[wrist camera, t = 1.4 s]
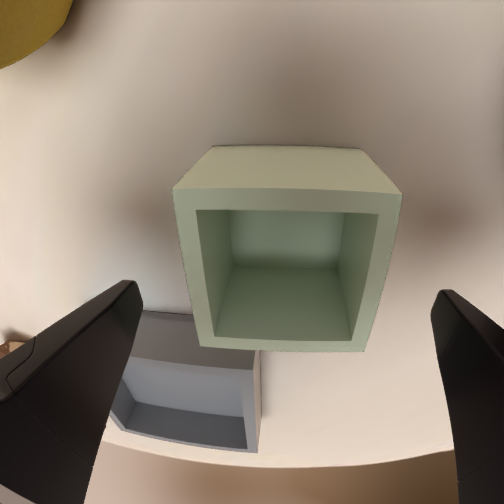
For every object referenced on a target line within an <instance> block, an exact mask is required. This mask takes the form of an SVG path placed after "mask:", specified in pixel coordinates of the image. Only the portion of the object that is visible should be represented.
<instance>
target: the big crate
mask: <svg viewBox="0 0 504 504" xmlns="http://www.w3.org/2000/svg"><path fill="white" fill-rule="evenodd" d="M109 416H110V417H111V418H112V420H113V421H114V422H115V423H116V425H117V426H118V427H119V428H120V430H122V431H126V432H129V433H133V434H137V435H141V436H146V437H150V438H154V439H159V440H164V441H169V442H174V443H179V444H185V445H191V446H197V447H204V448H211V449H219V450H227V451H237V452H248V453H258V443H259V434H260V425H261V372H260V350H243V349H228V348H215V347H204V346H200V343H199V339H198V334H197V330H196V325H195V320H194V316H193V315H183V314H172V313H161V312H150V311H142V314H141V317H140V321H139V325H138V328H137V332H136V336H135V340H134V344H133V347H132V351H131V353H130V356H129V359H128V362H127V365H126V367H125V370H124V373H123V376H122V378H121V381H120V384H119V387H118V390H117V393H116V395H115V398H114V401H113V404H112V407H111V410H110V413H109Z"/></svg>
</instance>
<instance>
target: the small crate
mask: <svg viewBox="0 0 504 504" xmlns="http://www.w3.org/2000/svg"><path fill="white" fill-rule="evenodd" d="M172 196H173V203H174V210H175V216H176V223H177V229H178V235H179V241H180V247H181V253H182V259H183V264H184V270H185V275H186V280H187V286H188V291H189V296H190V301H191V306H192V311H193V316H194V320H195V325H196V330H197V334H198V339H199V343H200V346H204V347H215V348H228V349H243V350H261V351H286V352H364V350H365V347H366V344H367V341H368V338H369V335H370V332H371V328H372V325H373V322H374V318H375V315H376V312H377V308H378V305H379V301H380V298H381V294H382V290H383V286H384V282H385V279H386V275H387V271H388V266H389V262H390V258H391V254H392V249H393V245H394V240H395V235H396V230H397V225H398V220H399V215H400V209H401V203H402V197H403V194H402V193H401V191H400V190H399V189H398V188H397V187H396V186H395V185H394V183H393V182H392V181H391V180H390V179H389V178H388V177H387V176H386V174H385V173H384V172H383V171H382V170H381V169H380V168H379V167H378V166H377V165H376V164H375V163H374V162H373V160H372V159H371V158H370V157H369V156H368V155H367V154H366V153H365V152H364V151H363V150H362V149H355V148H341V147H322V146H294V145H233V146H212V147H211V148H210V149H209V150H208V151H207V152H206V153H205V154H204V155H203V156H202V157H201V158H200V159H199V160H198V162H197V163H196V164H195V165H194V166H193V167H192V168H191V169H190V170H189V171H188V172H187V173H186V174H185V175H184V176H183V177H182V178H181V179H180V180H179V182H178V183H177V184H176V185H175V186H174V187H173V188H172Z"/></svg>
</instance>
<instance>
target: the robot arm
mask: <svg viewBox="0 0 504 504" xmlns="http://www.w3.org/2000/svg"><path fill="white" fill-rule="evenodd" d="M142 310H143V301H142V298H141V294H140V291H139V288H138V285H137V283H136V282H135V281H133V280H122V281H120V282H119V283H117V284H115V285H114V286H112V287H111V288H109V289H107V290H106V291H104V292H103V293H101V294H99V295H98V296H96V297H95V298H93V299H91V300H90V301H88V302H87V303H85V304H84V305H82V306H80V307H79V308H77V309H76V310H74V311H73V312H71V313H70V314H68V315H66V316H65V317H63V318H62V319H60V320H59V321H57V322H56V323H54V324H53V325H51V326H50V327H48V328H47V329H45V330H44V331H42V332H41V333H39V334H38V335H37V336H34V337H33V338H31V339H30V340H29V341H27V342H26V343H24V344H23V345H21V346H19V347H18V348H16V349H15V350H13V351H12V352H10V353H8V354H7V355H5V356H3V357H2V358H0V504H84V500H85V496H86V492H87V488H88V485H89V481H90V477H91V473H92V469H93V467H92V466H94V462H95V459H96V455H97V452H98V448H99V445H100V442H101V438H102V435H103V432H104V429H105V426H106V423H107V419H108V416H109V413H110V410H111V407H112V404H113V401H114V398H115V395H116V393H117V390H118V387H119V384H120V381H121V378H122V376H123V373H124V370H125V367H126V365H127V362H128V359H129V356H130V353H131V351H132V347H133V344H134V340H135V336H136V332H137V328H138V325H139V321H140V317H141V314H142ZM431 323H432V328H433V334H434V340H435V346H436V353H437V359H438V364H439V368H440V373H441V377H442V381H443V386H444V390H445V395H446V400H447V405H448V411H449V416H450V422H451V429H452V435H453V442H454V450H455V458H456V468H457V479H458V497H459V504H504V329H503V328H501V327H500V326H499V325H498V324H496V323H495V322H494V321H493V320H491V319H490V318H489V317H488V316H486V315H485V314H484V313H483V312H481V311H480V310H479V309H477V308H476V307H475V306H473V305H472V304H471V303H470V302H468V301H467V300H466V299H464V298H463V297H462V296H460V295H459V294H457V293H456V292H455V291H453V290H451V289H444V290H440V291H439V292H438V294H437V297H436V300H435V302H434V305H433V307H432V310H431Z"/></svg>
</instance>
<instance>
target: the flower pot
mask: <svg viewBox="0 0 504 504" xmlns="http://www.w3.org/2000/svg"><path fill="white" fill-rule="evenodd" d="M72 2H73V0H0V69H2V68H4V67H7V66H9V65H11V64H13V63H15V62H17V61H19V60H21V59H23V58H24V57H26V56H28V55H29V54H31V53H32V52H34V51H35V50H37V49H38V48H40V47H41V46H42V45H44V44H45V43H46V42H47V41H48V40H49V39H50V38H51V37H52V36H53V35H54V34H55V33H56V32H57V31H58V30H59V29H60V28H61V27H62V26H63V24H64V22H65V21H66V18H67V15H68V13H69V10H70V7H71V5H72Z"/></svg>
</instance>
